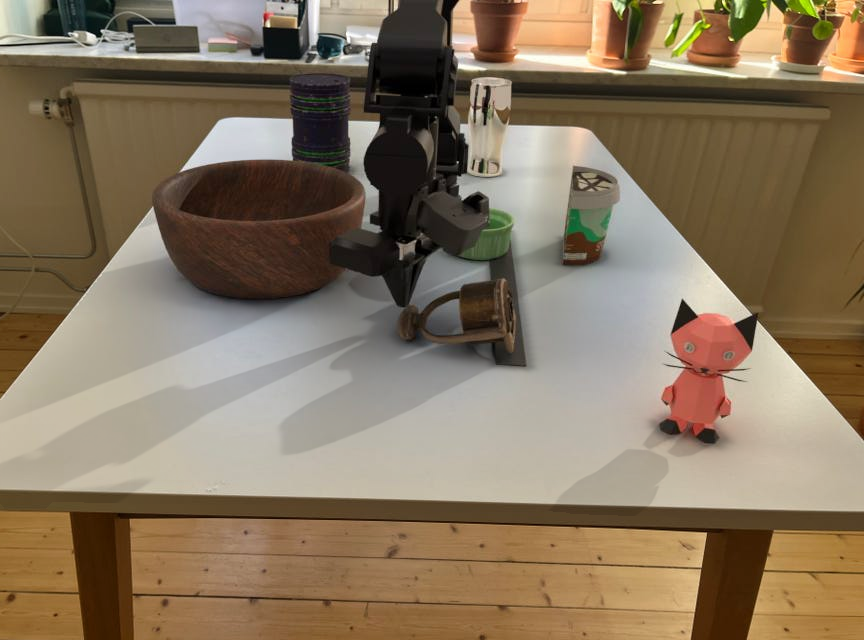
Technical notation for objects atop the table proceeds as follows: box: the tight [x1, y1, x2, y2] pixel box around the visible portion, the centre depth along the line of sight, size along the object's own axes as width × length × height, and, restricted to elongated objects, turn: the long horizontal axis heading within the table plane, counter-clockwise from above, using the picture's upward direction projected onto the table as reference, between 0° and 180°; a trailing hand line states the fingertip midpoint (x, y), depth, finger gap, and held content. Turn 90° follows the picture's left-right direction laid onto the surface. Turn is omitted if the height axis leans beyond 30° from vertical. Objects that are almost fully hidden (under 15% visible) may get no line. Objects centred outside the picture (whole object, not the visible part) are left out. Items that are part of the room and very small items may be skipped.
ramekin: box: [457, 207, 515, 261], centre depth 107 cm, size 9×9×4 cm
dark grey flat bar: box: [489, 239, 527, 367], centre depth 98 cm, size 38×3×1 cm, turn 175°
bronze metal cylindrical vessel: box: [396, 278, 516, 354], centre depth 84 cm, size 7×13×10 cm
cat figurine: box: [658, 298, 760, 444], centre depth 70 cm, size 7×7×12 cm
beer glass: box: [467, 76, 513, 178], centre depth 136 cm, size 7×7×15 cm
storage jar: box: [289, 72, 352, 174], centre depth 135 cm, size 10×10×15 cm
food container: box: [561, 165, 621, 266], centre depth 106 cm, size 12×6×10 cm, turn 168°
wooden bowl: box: [151, 158, 367, 300], centre depth 99 cm, size 25×25×10 cm
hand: (402, 306), depth 89 cm, fingers closed
